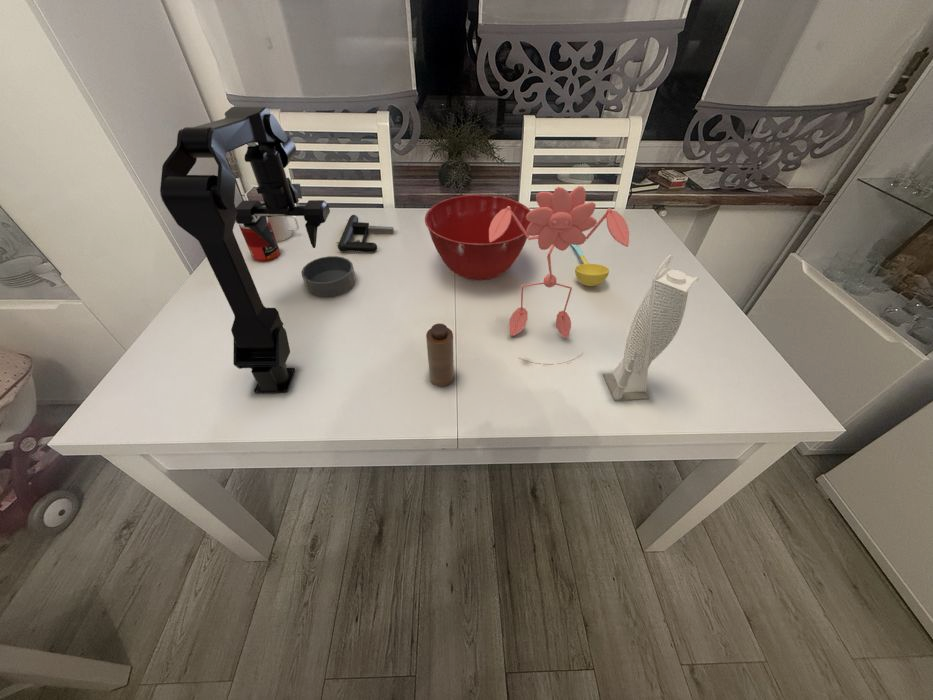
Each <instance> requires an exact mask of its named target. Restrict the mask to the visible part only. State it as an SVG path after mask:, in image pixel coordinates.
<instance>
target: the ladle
mask: <svg viewBox="0 0 933 700" xmlns="http://www.w3.org/2000/svg"><path fill="white" fill-rule="evenodd" d="M570 245H571V247H573V249H574V250H575V252H576V253H577V255H578V257H579V258H580V259H581V261H582V263H581V264H578V265H576V266H575V268H574V274H575V277H576V279H577V280H578V281H579V282H580V283H581V284H582V285H584V286H586V287H594V286H599V285H600V284H602V283H603V282H604V281H605V280H606V279H607V278H608V276H609V274H610V271H611V270H610V268H609V267H607V266H605V265H603V264H599V263H598V264H597V263H589V262H588V260H587V258H586V257H585V255H584V253H583V251H582V249H581V248H580V247H579V245H573V244H570Z"/></svg>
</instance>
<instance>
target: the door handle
mask: <svg viewBox="0 0 933 700" xmlns="http://www.w3.org/2000/svg"><path fill="white" fill-rule="evenodd" d="M394 233H395V231H394V226H383V225H370V222H361V221H359V216H357V215H356V214H351V215H350V216H349V218H348V219H347V223H346V225H345V227H344V230H343V232H342V234H341V237H340V239H339V241H338V242H336V244H337V249H338V251H340V252H341V253H344V252H360V253H361V252H362V253H375V252H376V251H377V250H378V245H377V243H376V242H370V241H369V242H367V239H368V236H369V235H370V234H383V235H394ZM354 235H359V236H362V239H361V240H360V239H356V240H353V237H354Z"/></svg>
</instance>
